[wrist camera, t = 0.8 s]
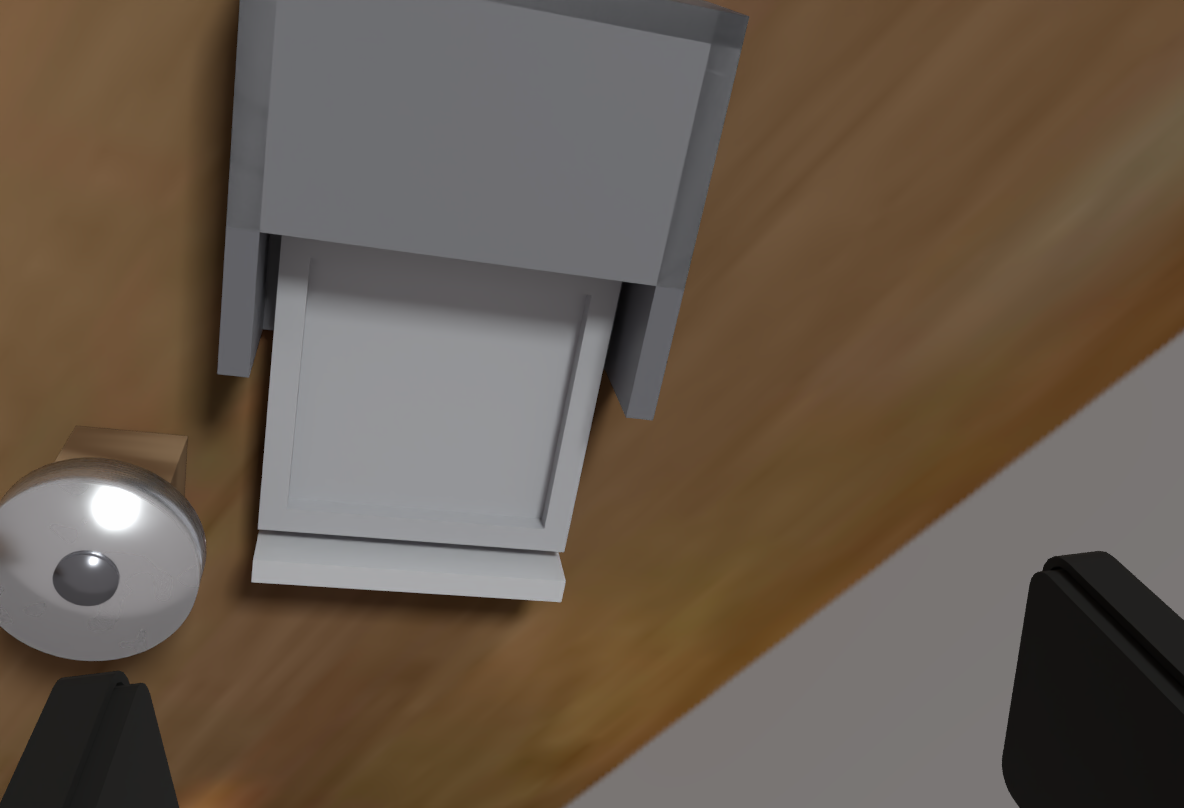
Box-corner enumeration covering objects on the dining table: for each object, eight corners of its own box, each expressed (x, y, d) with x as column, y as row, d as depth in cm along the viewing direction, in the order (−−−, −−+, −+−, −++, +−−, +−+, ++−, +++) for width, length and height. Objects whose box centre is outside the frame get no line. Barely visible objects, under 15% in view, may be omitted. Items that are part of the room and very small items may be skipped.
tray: (258, 550, 43) (250, 590, 41) (286, 213, 38) (279, 235, 35) (550, 571, 46) (559, 610, 44) (615, 259, 41) (630, 283, 38)
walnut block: (75, 517, 42) (38, 591, 38) (75, 425, 41) (36, 491, 36) (183, 524, 43) (159, 598, 39) (187, 435, 42) (163, 501, 37)
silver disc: (-8, 623, 38) (-28, 661, 36) (-13, 447, 35) (-36, 479, 33) (201, 634, 40) (192, 671, 38) (211, 467, 37) (202, 498, 35)
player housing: (236, 320, 40) (217, 374, 36) (263, -88, 35) (244, -85, 30) (625, 365, 43) (653, 420, 39) (707, 1, 38) (749, 16, 34)
